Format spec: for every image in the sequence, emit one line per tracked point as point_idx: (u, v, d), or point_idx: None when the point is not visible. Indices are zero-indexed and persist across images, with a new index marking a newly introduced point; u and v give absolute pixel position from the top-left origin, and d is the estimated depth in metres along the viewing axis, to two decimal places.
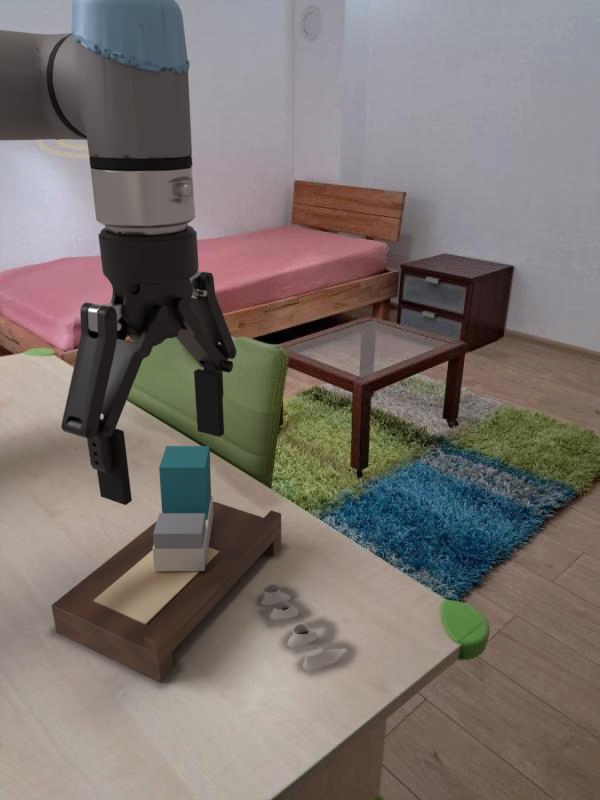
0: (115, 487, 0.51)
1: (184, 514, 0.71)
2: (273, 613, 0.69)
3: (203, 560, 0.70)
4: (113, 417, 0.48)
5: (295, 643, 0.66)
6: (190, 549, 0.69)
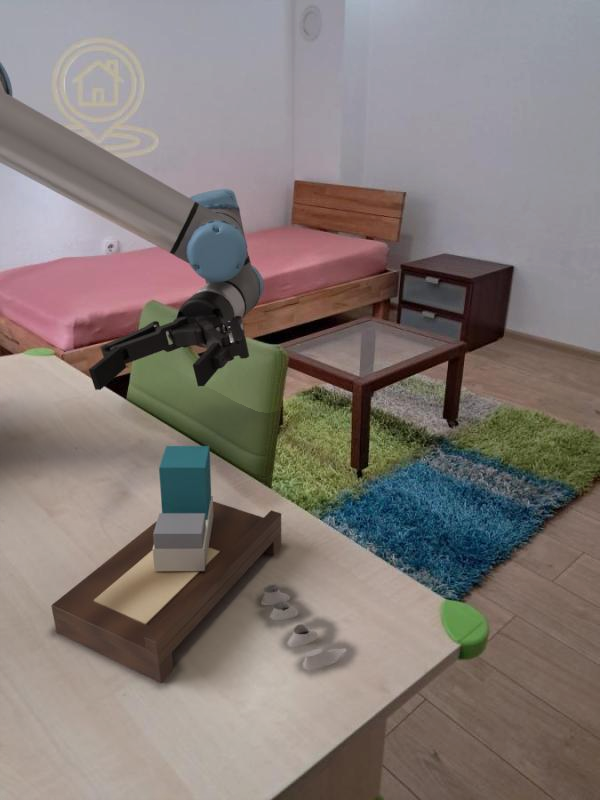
0: (206, 373, 0.73)
1: (184, 514, 0.71)
2: (273, 613, 0.69)
3: (203, 560, 0.70)
4: None
5: (295, 643, 0.66)
6: (190, 549, 0.69)
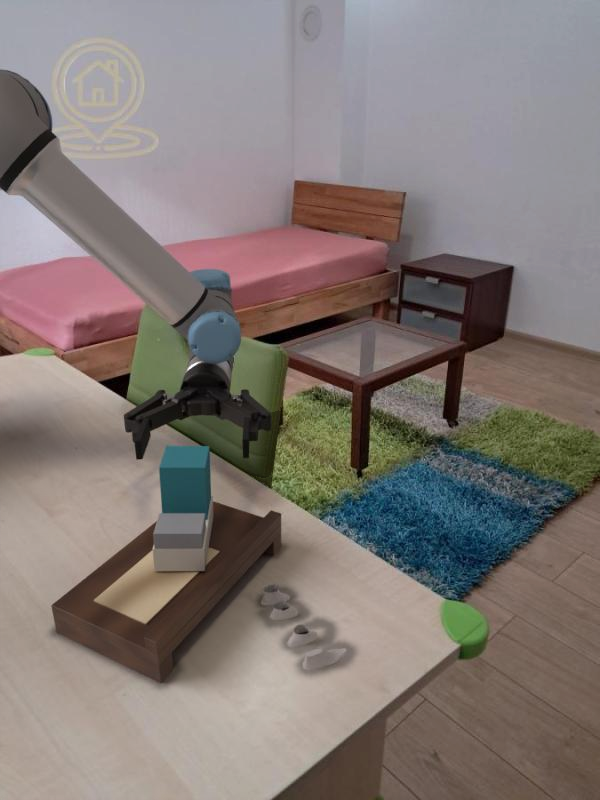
0: None
1: (184, 514, 0.71)
2: (273, 613, 0.69)
3: (203, 560, 0.70)
4: None
5: (295, 643, 0.66)
6: (190, 549, 0.69)
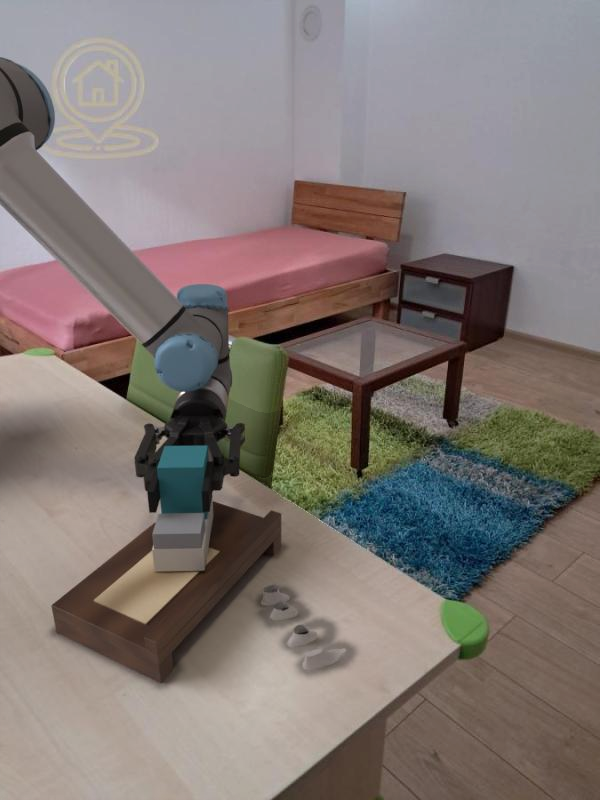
0: (210, 498, 0.71)
1: (183, 514, 0.71)
2: (273, 613, 0.69)
3: (203, 560, 0.70)
4: None
5: (295, 643, 0.66)
6: (189, 549, 0.69)
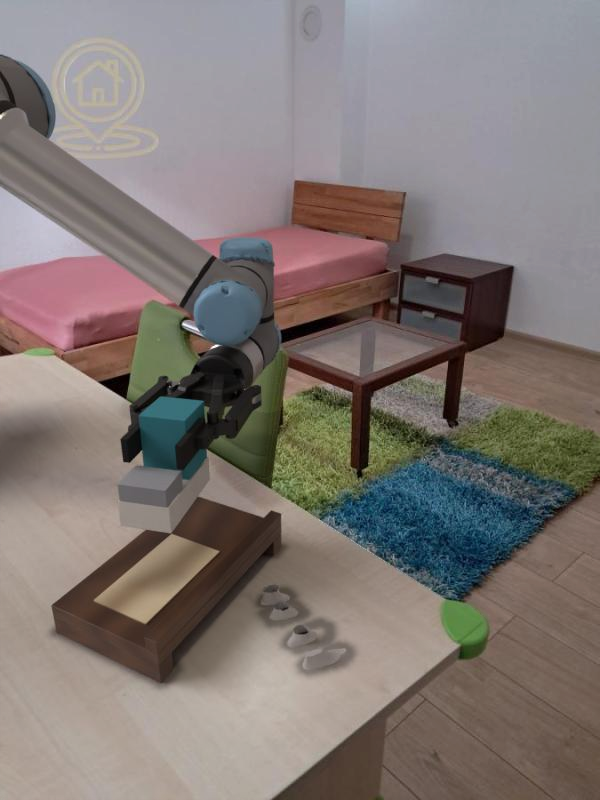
0: (188, 455, 0.65)
1: (160, 469, 0.65)
2: (272, 613, 0.69)
3: (169, 521, 0.63)
4: None
5: (295, 643, 0.66)
6: (154, 506, 0.63)
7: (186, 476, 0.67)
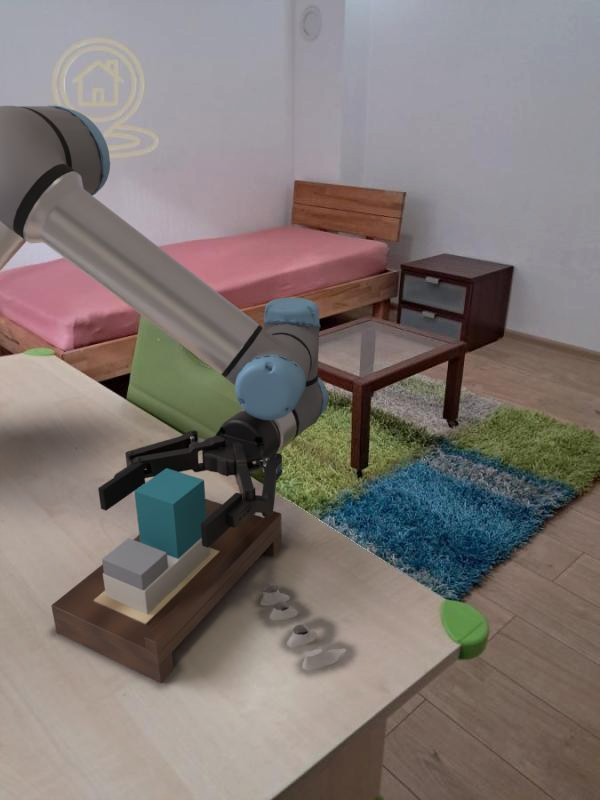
0: (216, 533, 0.65)
1: (147, 547, 0.66)
2: (272, 613, 0.69)
3: (145, 603, 0.64)
4: None
5: (295, 643, 0.66)
6: (133, 587, 0.64)
7: (175, 555, 0.67)
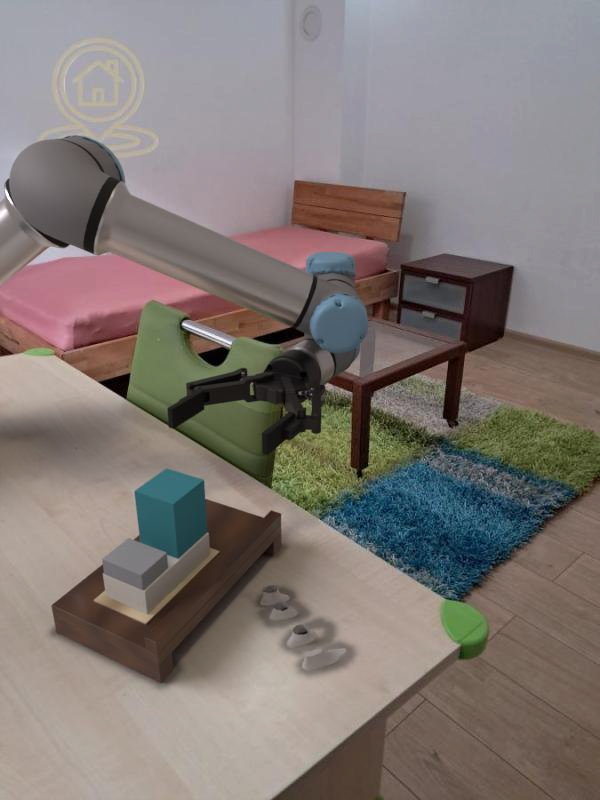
0: (274, 443, 0.74)
1: (147, 547, 0.66)
2: (272, 613, 0.69)
3: (145, 603, 0.64)
4: None
5: (294, 643, 0.66)
6: (133, 587, 0.64)
7: (175, 555, 0.67)
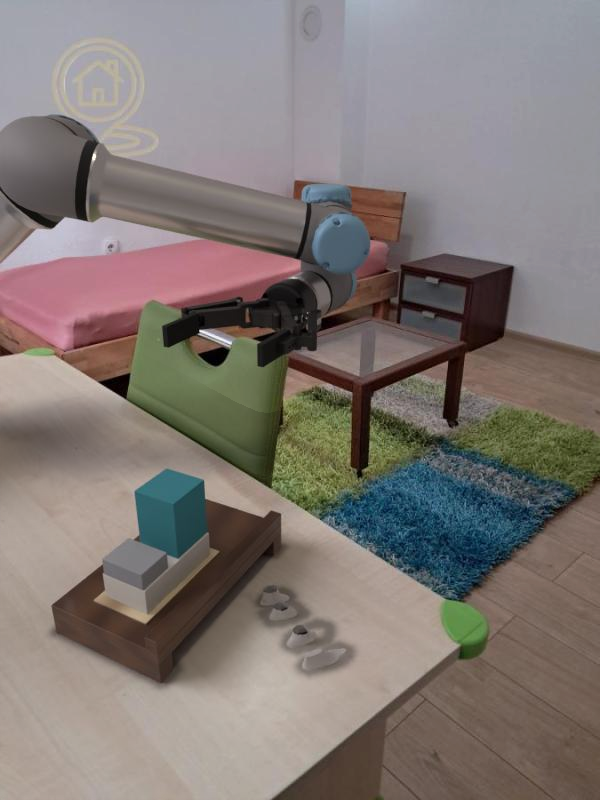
0: (269, 356, 0.73)
1: (147, 547, 0.66)
2: (272, 614, 0.69)
3: (145, 603, 0.64)
4: None
5: (294, 643, 0.65)
6: (133, 587, 0.64)
7: (175, 555, 0.67)
